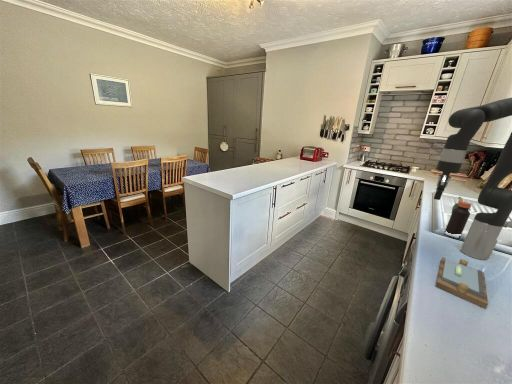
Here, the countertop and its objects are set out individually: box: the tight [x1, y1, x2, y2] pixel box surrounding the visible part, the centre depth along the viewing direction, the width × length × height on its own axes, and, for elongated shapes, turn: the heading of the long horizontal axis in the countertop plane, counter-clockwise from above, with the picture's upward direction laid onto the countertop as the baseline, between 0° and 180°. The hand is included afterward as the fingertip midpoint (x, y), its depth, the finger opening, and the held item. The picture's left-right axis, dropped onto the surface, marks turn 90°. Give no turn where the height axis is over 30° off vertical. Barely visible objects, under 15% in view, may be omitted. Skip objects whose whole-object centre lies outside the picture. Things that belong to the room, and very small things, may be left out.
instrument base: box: [435, 257, 489, 309], centre depth 80 cm, size 23×13×4 cm, turn 135°
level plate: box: [442, 258, 485, 297], centre depth 79 cm, size 17×11×3 cm, turn 135°
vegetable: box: [451, 196, 464, 213], centre depth 124 cm, size 4×4×20 cm
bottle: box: [444, 200, 472, 235], centre depth 114 cm, size 7×7×20 cm
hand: (436, 199), depth 92 cm, fingers closed
